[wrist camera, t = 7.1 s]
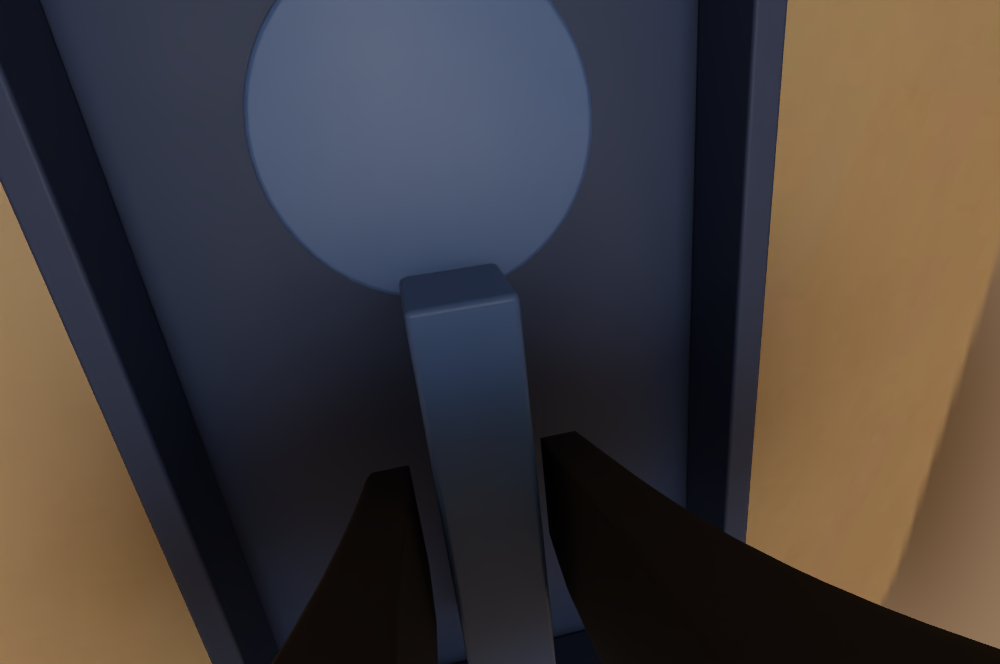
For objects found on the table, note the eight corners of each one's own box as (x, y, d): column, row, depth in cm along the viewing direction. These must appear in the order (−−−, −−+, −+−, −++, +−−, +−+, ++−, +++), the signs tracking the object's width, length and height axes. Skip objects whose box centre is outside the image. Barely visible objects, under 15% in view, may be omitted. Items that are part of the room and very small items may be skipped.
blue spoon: (588, 577, 13) (644, 706, 10) (390, 625, 12) (394, 775, 10) (548, -54, 8) (635, -131, 5) (225, -28, 8) (142, -99, 5)
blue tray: (692, 597, 15) (736, 669, 13) (284, 701, 13) (269, 798, 11) (718, -222, 8) (813, -311, 6) (-56, -187, 7) (-211, -290, 5)
